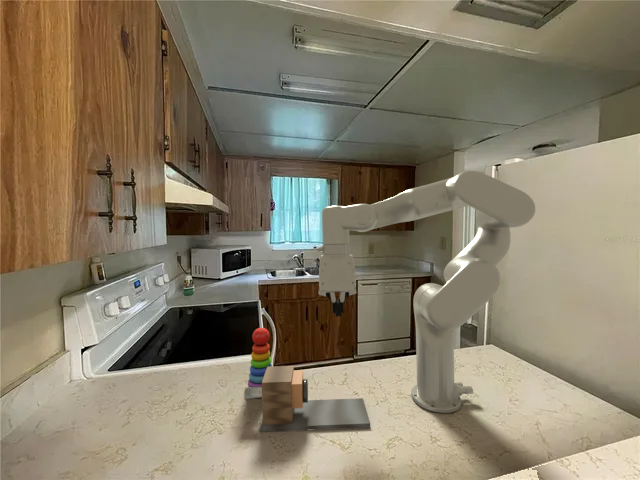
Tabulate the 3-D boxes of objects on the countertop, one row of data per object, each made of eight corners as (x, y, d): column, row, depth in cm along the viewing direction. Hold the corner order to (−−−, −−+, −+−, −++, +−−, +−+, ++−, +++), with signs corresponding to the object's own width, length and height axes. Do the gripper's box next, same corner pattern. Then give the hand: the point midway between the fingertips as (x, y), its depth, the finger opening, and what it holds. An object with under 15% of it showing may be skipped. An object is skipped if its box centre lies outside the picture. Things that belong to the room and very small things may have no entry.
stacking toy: (268, 400, 77) (267, 334, 76) (242, 398, 78) (240, 332, 78) (278, 385, 84) (277, 324, 84) (254, 383, 86) (252, 323, 86)
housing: (362, 401, 75) (361, 361, 75) (370, 427, 65) (369, 380, 65) (267, 405, 74) (266, 364, 74) (260, 431, 64) (258, 385, 64)
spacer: (303, 392, 73) (302, 370, 72) (302, 408, 66) (301, 383, 66) (294, 392, 73) (293, 370, 72) (292, 408, 66) (291, 384, 66)
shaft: (308, 394, 72) (307, 375, 72) (307, 407, 67) (307, 386, 67) (248, 397, 72) (247, 377, 72) (242, 409, 67) (242, 388, 67)
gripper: (309, 251, 73) (311, 320, 73) (365, 250, 73) (366, 318, 74) (309, 250, 81) (311, 312, 81) (360, 249, 81) (362, 310, 81)
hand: (337, 315), depth 77 cm, fingers closed
